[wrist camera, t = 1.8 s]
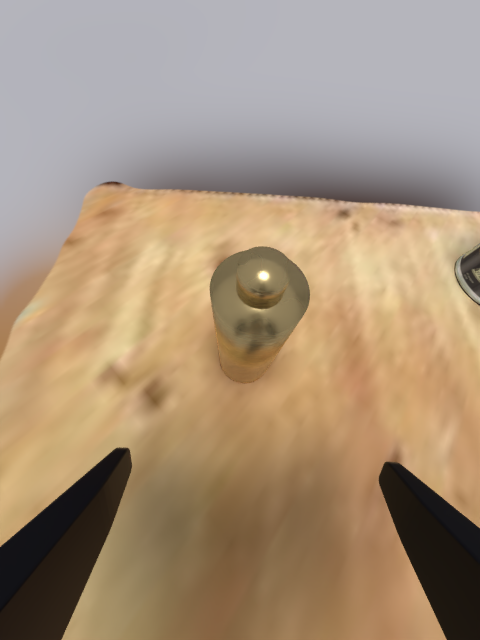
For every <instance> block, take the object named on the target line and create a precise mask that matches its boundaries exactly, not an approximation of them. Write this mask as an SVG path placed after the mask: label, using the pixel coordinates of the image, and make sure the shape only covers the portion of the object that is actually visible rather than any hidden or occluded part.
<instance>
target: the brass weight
mask: <svg viewBox="0 0 480 640" xmlns="http://www.w3.org/2000/svg"><path fill="white" fill-rule="evenodd" d="M210 297H211V303H212V310H213V317H214V324H215V330H216V337H217V344H218V350H219V357H220V364H221V367H222V369H223V371H224V373H225V374H226V375H227V376H228V377H229V378H230V379H232V380H233V381H236V382H239V383H251V382H254V381H256V380H258V379H259V378H261V377H262V376H263V374H264V373H265V372H266V370H267V369H268V367H269V366H270V364H271V363H272V361H273V360H274V358H275V357H276V355H277V354H278V352H279V351H280V349H281V348H282V346H283V345H284V343H285V342H286V340H287V339H288V338H289V336H290V335H291V333H292V332H293V330H294V329H295V327H296V326H297V324H298V323H299V321H300V320H301V318H302V317H303V315H304V314H305V312H306V310H307V307H308V304H309V300H310V290H309V285H308V282H307V280H306V277H305V276H304V274H303V272H302V271H301V270H300V269H299V267H298V266H297V265H296V264H294V263H293V262H292V261H291V260H289V259H288V258H287V257H286V256H285V255H284V254H283V253H282V252H280V251H278V250H276V249H274V248H270V247H255V248H251V249H249V250H246V251H242V252H239V253H236V254H234V255H232V256H230V257H228V258H227V259H225V260H224V261H223V262H222V263H221V264H220V265H219V266H218V267H217V269H216V270H215V272H214V274H213V276H212V279H211V282H210Z"/></svg>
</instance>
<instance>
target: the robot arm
mask: <svg viewBox="0 0 480 640" xmlns="http://www.w3.org/2000/svg"><path fill="white" fill-rule="evenodd" d="M131 468H132V462H131V455H130V450H129V448H116V449H114V450H113V451H112V452H111V453H110V454H108V455H107V456H106V457H105V458H104V459H103V460H101V461H100V462H99V463H98V464H97V465H96V466H94V467H93V468H92V469H91V470H90V471H89V472H87V473H86V474H85V475H84V476H83V477H82V478H80V479H79V480H78V481H77V482H76V483H75V484H73V485H72V486H71V487H70V488H69V489H68V490H66V491H65V492H64V493H63V494H62V495H60V496H59V497H58V498H57V499H56V500H55V501H53V502H52V503H51V504H50V505H49V506H48V507H46V508H45V509H44V510H43V511H42V512H41V513H39V514H38V515H37V516H36V517H35V518H34V519H32V520H31V521H30V522H29V523H28V524H27V525H25V526H24V527H23V528H22V529H21V530H20V531H18V532H17V533H16V534H15V535H14V536H12V537H11V538H10V539H9V540H8V541H7V542H5V543H4V544H3V545H2V546H1V547H0V640H61V639H62V637H63V635H64V632H65V630H66V628H67V626H68V624H69V621H70V619H71V617H72V615H73V612H74V610H75V608H76V606H77V603H78V601H79V599H80V597H81V594H82V592H83V590H84V588H85V585H86V583H87V581H88V579H89V576H90V574H91V572H92V570H93V567H94V565H95V563H96V561H97V558H98V556H99V554H100V552H101V549H102V547H103V545H104V543H105V541H106V538H107V536H108V534H109V531H110V529H111V527H112V524H113V521H114V518H115V516H116V513H117V510H118V507H119V504H120V501H121V498H122V496H123V493H124V490H125V487H126V484H127V481H128V478H129V476H130V473H131ZM379 484H380V487H381V490H382V493H383V495H384V498H385V501H386V503H387V506H388V509H389V511H390V514H391V517H392V519H393V522H394V524H395V527H396V530H397V532H398V535H399V537H400V540H401V542H402V544H403V546H404V549H405V551H406V553H407V555H408V557H409V559H410V562H411V564H412V566H413V568H414V570H415V572H416V574H417V577H418V579H419V581H420V583H421V585H422V587H423V589H424V592H425V594H426V596H427V598H428V600H429V602H430V605H431V607H432V609H433V611H434V613H435V615H436V617H437V620H438V622H439V624H440V626H441V628H442V630H443V632H444V635H445V637H446V639H447V640H480V528H479V527H477V526H476V525H475V524H474V523H472V522H471V521H470V520H469V519H468V518H466V517H465V516H464V515H463V514H461V513H460V512H459V511H458V510H456V509H455V508H454V507H453V506H452V505H450V504H449V503H448V502H447V501H445V500H444V499H443V498H442V497H440V496H439V495H438V494H437V493H436V492H434V491H433V490H432V489H431V488H429V487H428V486H427V485H426V484H424V483H423V482H422V481H421V480H419V479H418V478H417V477H416V476H415V475H413V474H412V473H411V472H410V471H408V470H407V469H406V468H405V467H403V466H402V465H401V464H399V463H397V462H385V463H384V465H383V468H382V470H381V473H380V475H379Z"/></svg>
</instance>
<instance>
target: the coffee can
mask: <svg viewBox="0 0 480 640" xmlns="http://www.w3.org/2000/svg"><path fill="white" fill-rule="evenodd" d="M455 272H456V276H457V279H458V281H459V283H460V285H461V287H462V288H463V289H464V291H465V292H466V293H467V294H468V295H469V296H470V297H471V298H472V299H473V300H474V301H475V302H477V303H478V304H479V305H480V244H479V245H477V246H476V247H474V248H473V249H472V250H470V251H469V252H467V253H466V254H464V255H462V256H461V257H460V258H459V259H458V261H457V262H456V267H455Z"/></svg>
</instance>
